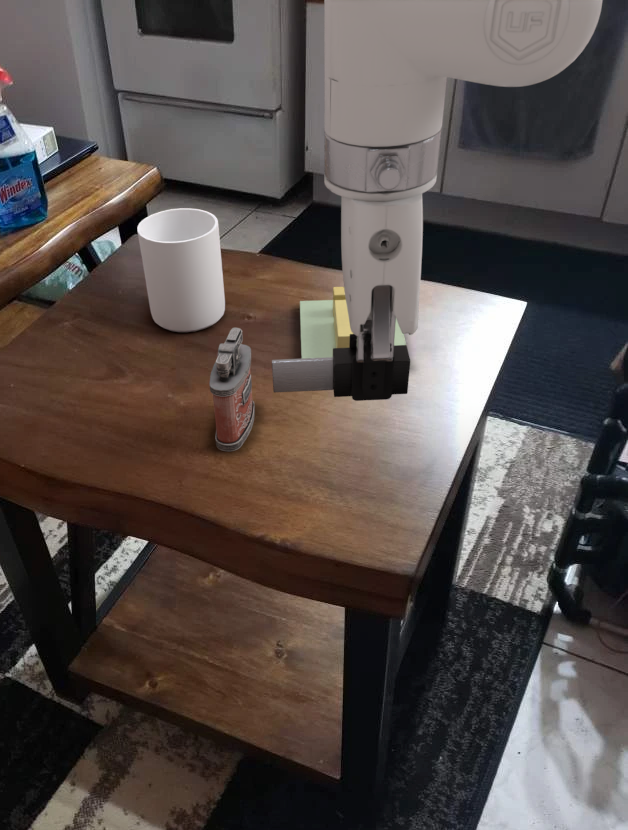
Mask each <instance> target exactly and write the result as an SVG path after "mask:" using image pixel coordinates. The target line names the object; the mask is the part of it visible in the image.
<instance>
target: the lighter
mask: <svg viewBox="0 0 628 830" xmlns="http://www.w3.org/2000/svg"><path fill="white" fill-rule="evenodd" d="M243 337H244V336H243V330H242V329H241V327H232V328H231V329H230V330H229V332H228V335H227V337H226V339H225V341H224V343H219V345H218V349H217V358H216V360H215V362H214V363H213V365H212V369H211V372H210V376H209V383H208V384H209V391H210V393H211V394H212V400H213V401H212V402H213V411H214V419H215V445H216V447H217V449H218V450H220V451H223V452H234V451H237V450H239V449H240V448H241V447H242V446H243V444H244V443H245V442H246V440H247V439H248V437H249V435H250V433H251V431H252V430H253V425H254V421H255V411H256V410H255V409H256V407H255V401H254V400H253V391H252V388H253V384H252V374H251V365H252V349H251V347H250V346H249V345H247V344H243V341H244V338H243Z"/></svg>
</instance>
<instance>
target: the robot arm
mask: <svg viewBox="0 0 628 830" xmlns="http://www.w3.org/2000/svg"><path fill="white" fill-rule="evenodd" d="M603 1H604V0H324V1H323V2H324V3H323V7H324V9H323V11H324V13H323V14H324V15H323V16H324V17H323V22H324V24H323V25H324V27H323V28H324V29H323V30H324V31H323V33H324V34H323V35H324V37H323V40H324V41H323V42H324V43H323V44H324V45H323V46H324V47H323V48H324V49H323V50H324V51H323V52H324V59H323V60H324V63H323V65H324V82H323V83H324V87H323V88H324V91H323V92H324V99H323V100H324V106H323V107H324V108H323V109H324V110H323V111H324V113H323V114H324V115H323V116H324V117H323V119H324V120H323V124H324V125H323V127H324V129H323V130H324V134H323V135H324V137H323V138H324V142H323V144H324V149H323V151H324V155H323V156H324V165H323V166H324V167H323V168H324V169H323V170H324V172H323V173H324V174H323V175H324V177H323V178H324V179H323V180H324V181H323V182H324V186H325V187H326V189H328V190H329V191H330V192H331V193H333V194H335V195H337V196H339V197H341V198H340V200H341V202H340V203H341V204H340V211H341V212H340V248H341V271H342V281H343V287H344V290H345V298H346V304H347V310H348V316H349V322H350V328H351V332H353V333H354V334H350V343H349V348H352V347H356V356H353V361H352V396H351V399H352V400H353V401H356V402H358V401H361V402H362V401H383V400H385V401H386V400H389V399H391V398H392V396H393V395H392V384H393V370H394V354H393V353H394V338H395V323H396V319H397V322H398V324H399V327H400V329H401V332H402V334H404V335H405V334H408V335H411V336H412V335H414V334H415V333H416V332H417V330H418V329H419V318H420V317H419V316H420V295H421V280H422V263H423V261H422V259H423V239H424V238H423V236H424V233H423V232H424V208H423V207H424V204H423V194H424V193H426V192H427V191H429V190H431V189H432V188H433V187H434V186H435V184H436V183H437V177H438V168H439V160H440V151H441V150H440V149H441V140H442V130H443V121H444V111H445V110H444V109H445V101H446V93H447V90H446V89H447V80H448V79H454V80H461V81H465V82H471V83H475V84H481V85H487V86H494V87H504V88H520V87H528V86H532V85H536V84H540V83H542V82H545V81H547V80H549V79H551V78H553V77H555V76H557V75H559V74H560V73H561V72H563V71H564V70H565V69H566V68H568V67H569V66H570V65H571V64H572V63H574V62H575V61H576V59H577V58H578V57H579V56H580V55H581V53H583V52H584V50H585V48H586V47H587V46H588V44H589V42H590V41H591V39H592V37H593V35H594V33H595V30H596V29H597V27H598V23H599V20H600V16H601V12H602V6H603Z"/></svg>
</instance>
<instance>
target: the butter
mask: <svg viewBox="0 0 628 830" xmlns="http://www.w3.org/2000/svg"><path fill="white" fill-rule="evenodd" d="M334 330H335V341H336V348H349V343H350V334H354V333H353V332H351V328H350V322H349V316H348V310H347V304H346V300H335V301H334Z"/></svg>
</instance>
